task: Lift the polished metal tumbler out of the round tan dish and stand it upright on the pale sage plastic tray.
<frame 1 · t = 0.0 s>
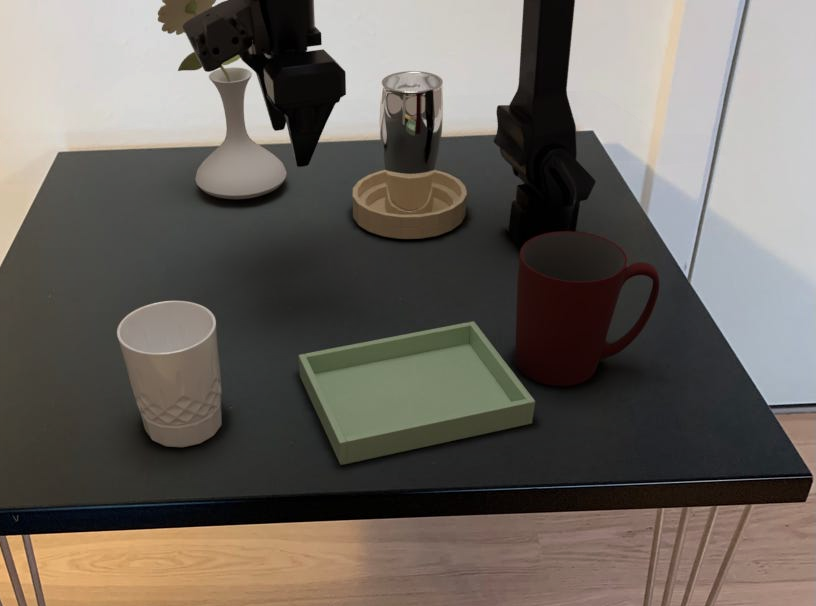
hand: (290, 147, 86), 15 cm above the table, tool pointing down, fingers open, 9 cm apart
polished metal tumbler: (408, 214, 107), resting on round tan dish
flower in vase: (236, 191, 114), on the table
mug: (572, 366, 84), on the table
round tan dish: (408, 215, 107), on the table
tray: (411, 399, 80), on the table
white cup: (184, 425, 79), on the table
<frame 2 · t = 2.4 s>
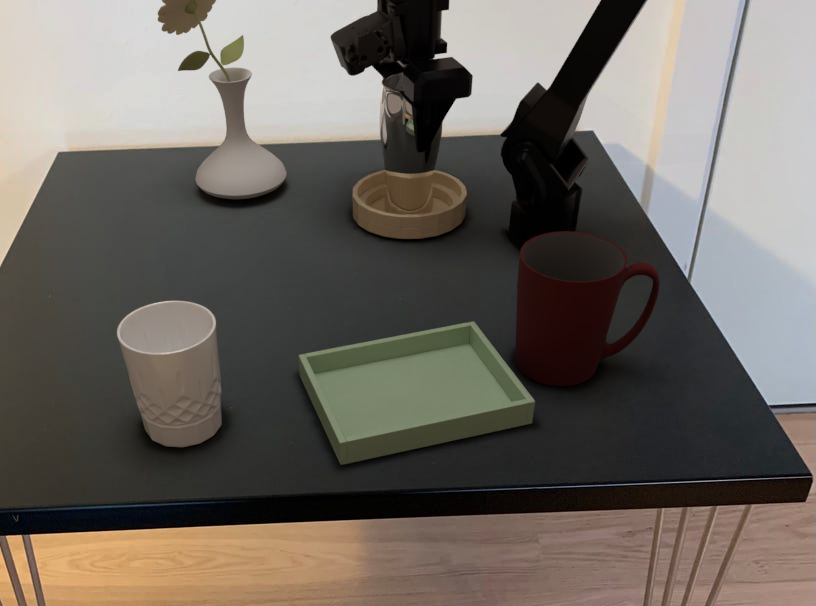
hand: (410, 139, 101), 9 cm above the table, tool pointing down, fingers closed on polished metal tumbler, 7 cm apart
polished metal tumbler: (408, 214, 107), resting on round tan dish, touching gripper
everything else where it was.
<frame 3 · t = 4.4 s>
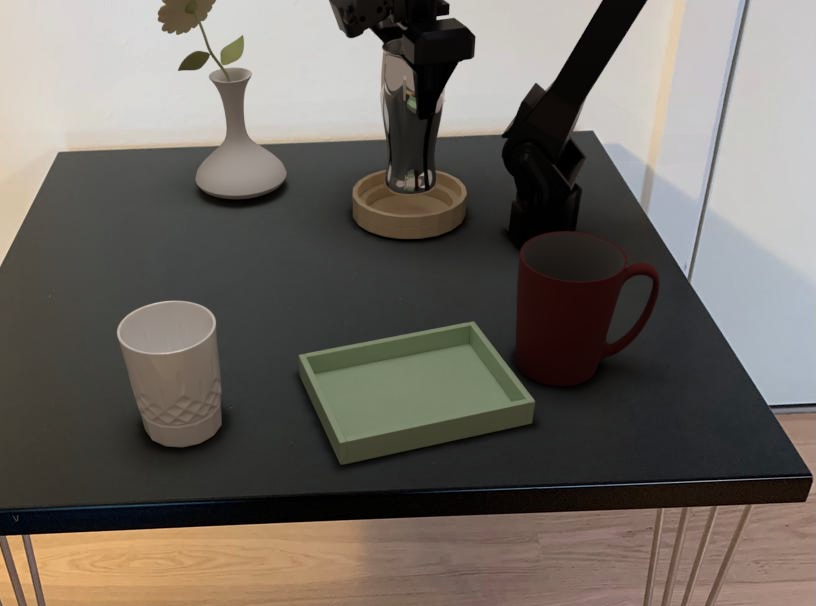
hand: (412, 107, 98), 13 cm above the table, tool pointing down, fingers closed on polished metal tumbler, 7 cm apart
polished metal tumbler: (410, 186, 104), point 4 cm above the table, touching gripper
everything else where it was.
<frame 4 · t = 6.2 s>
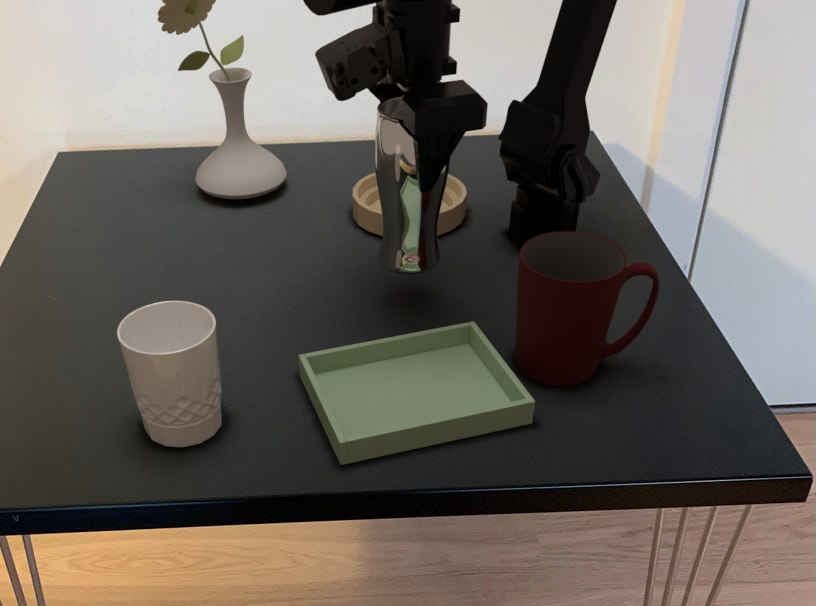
hand: (412, 175, 84), 13 cm above the table, tool pointing down, fingers closed on polished metal tumbler, 7 cm apart
polished metal tumbler: (409, 261, 90), point 4 cm above the table, touching gripper
everything else where it was.
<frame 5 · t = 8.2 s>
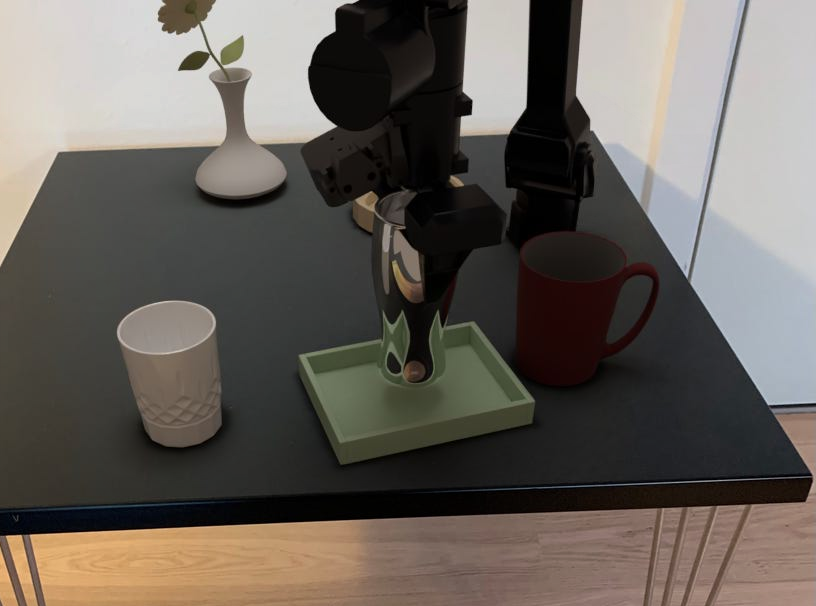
hand: (415, 280, 73), 12 cm above the table, tool pointing down, fingers closed on polished metal tumbler, 7 cm apart
polished metal tumbler: (411, 370, 79), point 3 cm above the table, touching gripper
everything else where it was.
when the fingers open (9 cm above the table, at t = 9.9 s): polished metal tumbler stays where it is, resting on tray.
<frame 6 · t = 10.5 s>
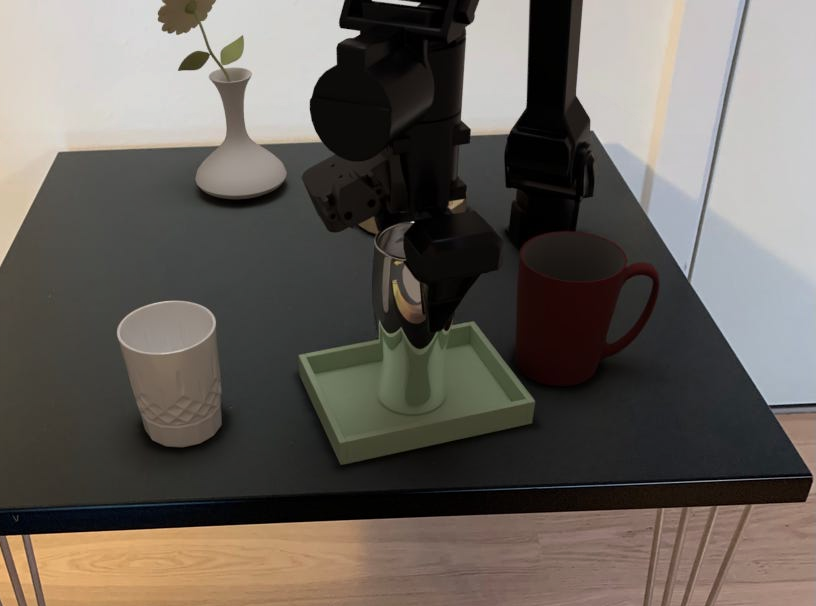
hand: (414, 302, 74), 10 cm above the table, tool pointing down, fingers open, 9 cm apart
polished metal tumbler: (411, 396, 80), resting on tray
everything else where it was.
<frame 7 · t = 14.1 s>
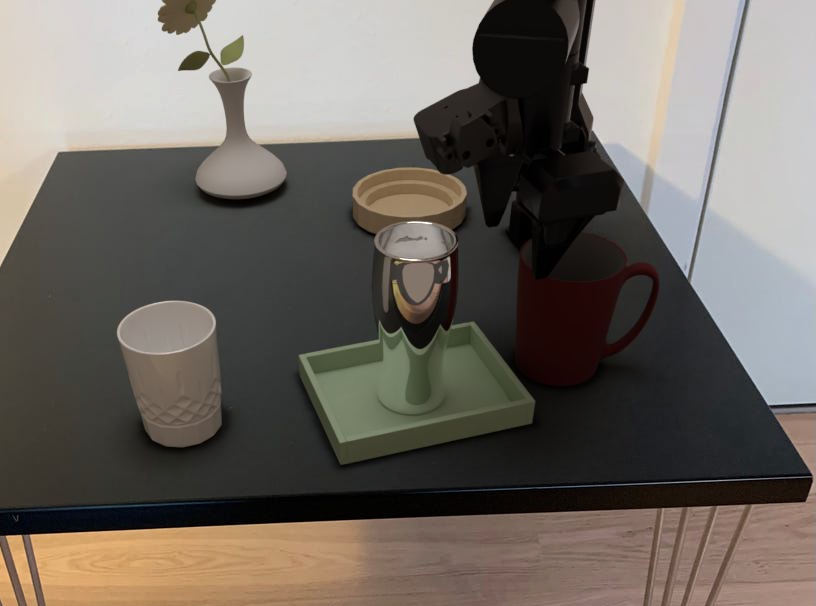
hand: (514, 250, 73), 13 cm above the table, tool pointing down, fingers open, 9 cm apart
nothing on the table moved.
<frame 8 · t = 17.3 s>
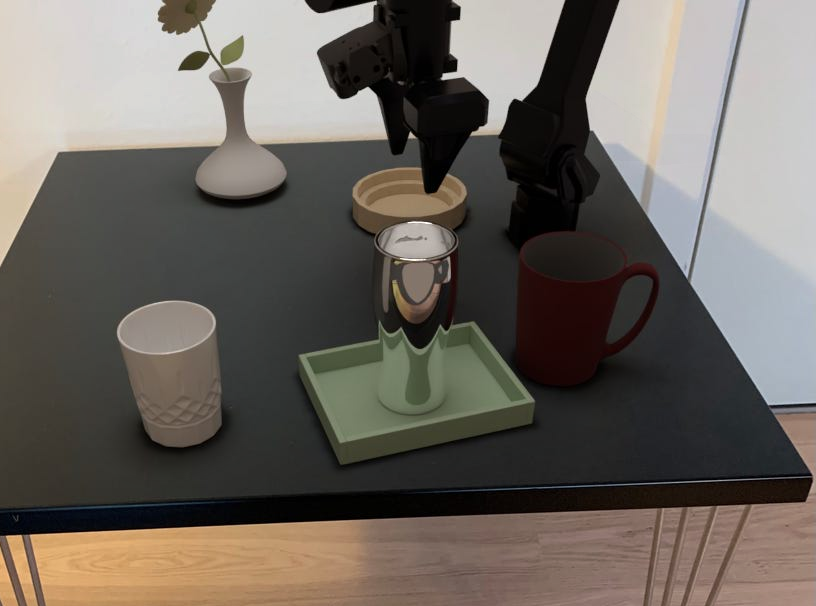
hand: (413, 172, 85), 13 cm above the table, tool pointing down, fingers open, 9 cm apart
nothing on the table moved.
at the end: polished metal tumbler inside the target area in the tray (0.1 cm from its centre), point 0.2 cm above the tray's base; polished metal tumbler tilted 0°; the gripper is holding nothing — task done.
